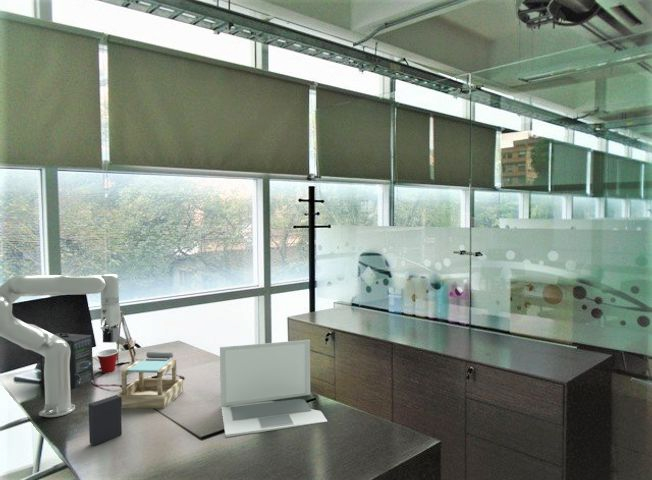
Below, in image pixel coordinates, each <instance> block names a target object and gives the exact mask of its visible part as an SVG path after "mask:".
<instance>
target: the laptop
mask: <svg viewBox="0 0 652 480" xmlns="http://www.w3.org/2000/svg"><path fill="white" fill-rule="evenodd" d="M219 365H220V367H219V369H220V371H219V372H220V376H219V377H220V409H222V410H221V417H222V416H223V417H222V423H223V429H224V435H225V438H229V437H236V436H241V435H247V434H248V435H249V434H258V433H265V432H268V431H269V432H270V431H271V432H272V431H275V430H277V431H278V430H282V429H283V430H284V429H290V428H295V427H302V426H308V425H314V424H320V423H321V424H322V423H327V422H328V420H327V418H326V417H325V415H324V413H323V412H322V410H318V409H312V408H311V407H310V405H308V403H307V401H306V400H305V399H302V398H296V397H303V396H310V395H311V340H310V339H302V340H292V341H291V340H290V341H281V342H280V341H279V342H277V341H276V342H267V343H264V342H263V343H255V344H254V343H253V344H252V343H251V344H242V345H231V346H220V347H219ZM291 398H294V399H291ZM283 399H288V400H283ZM276 400H277V401H276ZM278 400H280V401H278Z"/></svg>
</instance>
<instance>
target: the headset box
mask: <svg viewBox="0 0 652 480" xmlns="http://www.w3.org/2000/svg"><path fill="white" fill-rule="evenodd" d="M53 334H54V335H56V336H58V337H60V338H61V339H63V340H65V341H66V342H67V343H68V344H69V346H70V350H71V354H70V389H77V388H79V387H81V386H83V385H86V384H87V383H90V382H92V381H93V380H94V361H93V342H92V340H93V339H92V338H93V337H92V336H93V335H91V334H78V333H77V334H76V333H65V332H64V333H63V332H57V333H53ZM39 357H40V358H39V359H40V372H41V373H40V375H41V376H40V377H41V384H43V385H45V383H44V364H45V357H44V356H43V355H41V354H39Z"/></svg>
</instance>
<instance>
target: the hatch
mask: <svg viewBox="0 0 652 480" xmlns="http://www.w3.org/2000/svg"><path fill="white" fill-rule="evenodd" d="M145 355H146V359H145V360H144V359H143V360H142V361H140V362H139V363H137V364H136V365H134V366H133V367H131V368H130V369H128V370H127V372H131V373H139V372H141V373H143V374H146V373H149V374H153V373H155V374H157V372H158V371H159V370H160V369H161V368H163V367H164V366H165V365H167V364H168V363H169V362H171V361H172V360H170V359H172V358H173V357H174V351H147V352H146V354H145Z"/></svg>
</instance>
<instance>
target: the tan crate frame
mask: <svg viewBox="0 0 652 480" xmlns="http://www.w3.org/2000/svg"><path fill="white" fill-rule="evenodd" d="M142 360H144V359H142V358H140V359H138V360H136V361H135V362H133V363H132V364H130V365H129V366H128V367H126V368H124V369H123V370H121V373H120V374H121V390H120V391H118V392H117V393H116V394H115V395H117V396H120V397H121V398H122V407H121V409H165V408H166V407H167V406H168V405H169V404H170V403H171V402H173V401H172V400H173V399H174V398H175V397H176V396H177V395H178V394H179V393H180V392H181V391H182V390H183V391H184V379H183V378H178V377H177V359H172V360H170V361H171V362H169V363H168V364H167V365H165V366H164V367H163V368H161V369H160V370H159V371H158V372H157V373H156V376H157V377H156V378H155V377H154V378H152V377H151V378H145V376H144V374H145V373H141V372H138V378H136V379H135V380H134V381H133V382H131V383H130V384H127V379H128V377H127V376H129V375H130V374H131V373H132V372H127V370H128V369H130V368H131V367H133V366H134V365H136V364H137V363H139V362H140V361H142ZM170 370H171V378H163V376H165V375H166V374H168V372H169V371H170Z"/></svg>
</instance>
